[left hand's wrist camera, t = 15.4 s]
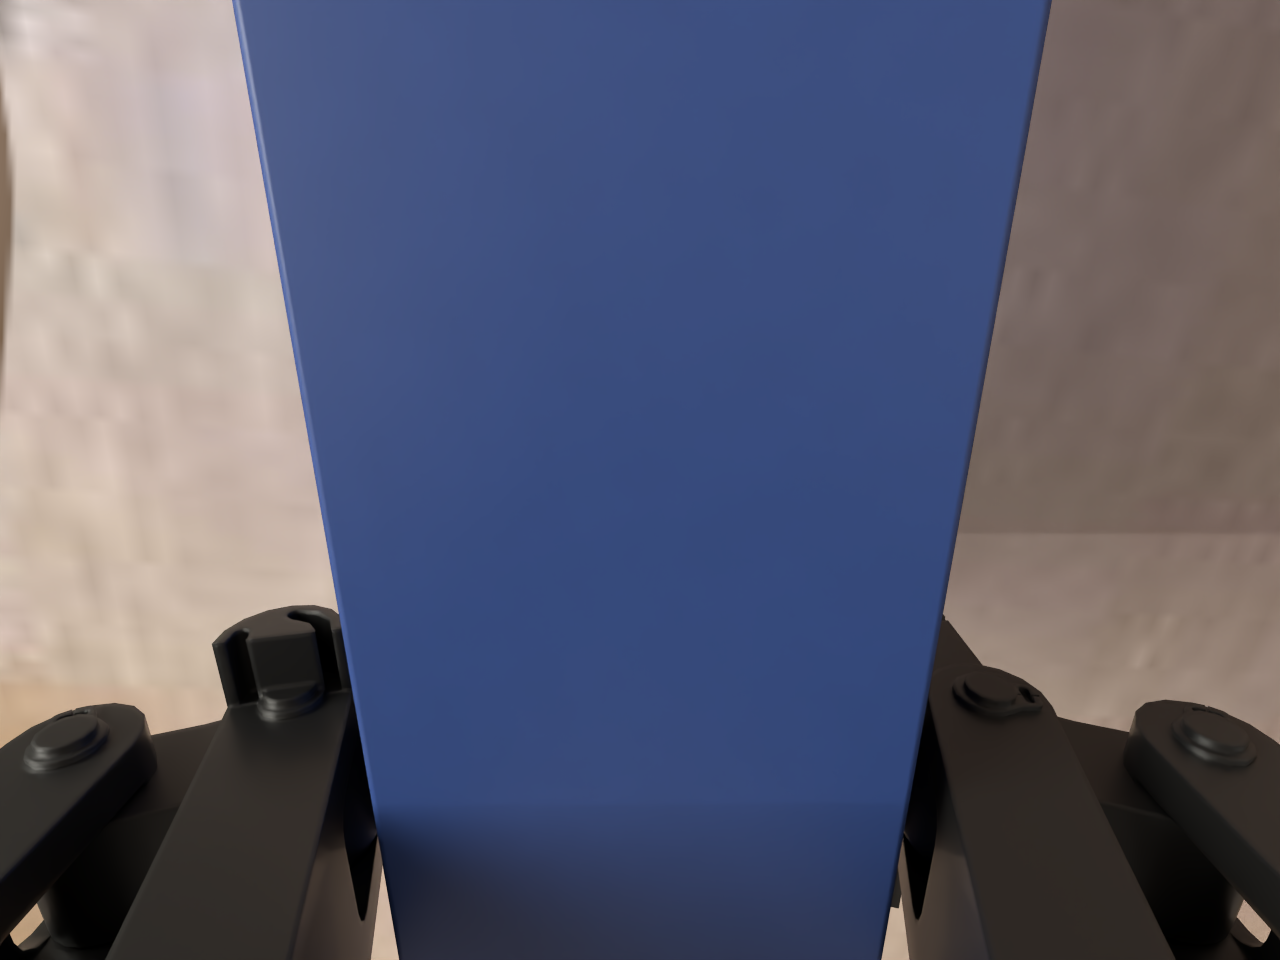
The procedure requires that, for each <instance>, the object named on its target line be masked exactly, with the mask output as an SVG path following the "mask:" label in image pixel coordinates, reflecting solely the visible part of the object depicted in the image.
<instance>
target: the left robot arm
mask: <svg viewBox="0 0 1280 960" xmlns="http://www.w3.org/2000/svg"><path fill="white" fill-rule="evenodd" d="M212 647H213V650H214V654H215V658H216V662H217V666H218V670H219V674H220V678H221V682H222V686H223V690H224V694H225V698H226V702H227V706H228V708H227V710H226V712H225V714H224V716H223V718H222V720H220V721H216V722H212V723H209V724H205V725H200V726H195V727H190V728H185V729H180V730H175V731H170V732H165V733H161V734H156V735H151V734H150V731H149V728H148V724H147V721H146V718H145V715H144V714H143V713H142V712H141V711H140V710H138V709H137V708H136V707H135V706H130V705H124V704H118V703H111V704H102V705H93V706H86V707H81V708H77V709H76V710H73V711H72V710H70V711H67V712H64V713H61V714H58V715H56V716H54V717H53V718H51V719H49V720H47V721H44V722H42V723H40V724H38V725H36V726H33V727H31V728H30V729H28V730H27V731H25V732H24V733H22V734H21V735H19V736H18V737H16V738H15V739H13V740H12V741H10V742H9V743H7V744H6V745H4V746H3V747H2V748H1V749H0V960H371V953H372V945H373V937H374V929H375V921H376V913H377V905H378V897H379V889H380V881H381V873H382V865H383V863H382V858H381V852H380V846H379V840H378V835H377V829H376V823H375V817H374V812H373V806H372V800H371V794H370V789H369V783H368V777H367V771H366V766H365V760H364V754H363V749H362V743H361V737H360V731H359V726H358V720H357V714H356V708H355V703H354V697H353V691H352V685H351V680H350V674H349V668H348V662H347V657H346V651H345V645H344V639H343V634H342V628H341V622H340V616H339V614H337V613H336V612H335V611H333V610H332V609H329V608H324V607H320V606H315V605H302V606H288V607H283V608H278V609H273V610H268V611H265V612H262V613H260V614H257V615H254V616H251V617H249V618H246V619H244V620H242V621H240V622H239V623H237V624H235V625H233V626H232V627H230V628H228V629H227V630H225V631H224V632H223V633H222V634H221V635H220V636H219V637H218V638H217V639H216V640H215V641H214V642H213V643H212ZM901 895H902V903H903V911H904V919H905V927H906V935H907V943H908V951H909V959H910V960H1280V745H1279V744H1278V743H1277V742H1276V741H1274V740H1273V739H1271V738H1270V737H1268V736H1267V735H1265V734H1264V733H1262V732H1261V731H1259V730H1258V729H1256V728H1255V727H1253V726H1252V725H1250V724H1248V723H1246V722H1244V721H1241V720H1239V719H1237V718H1235V717H1233V716H1230V715H1228V714H1227V713H1226V712H1223V711H1221V710H1218V709H1215V708H1212V707H1209V706H1208V707H1205V705H1201V704H1196V703H1191V702H1181V701H1172V700H1161V701H1154V702H1148V703H1145V704H1144V705H1143V706H1142V707H1140V708H1139V709H1138V710H1137V711H1136V712H1135V716H1134V719H1133V722H1132V725H1131V729H1130V732H1125V731H1120V730H1115V729H1110V728H1105V727H1100V726H1096V725H1091V724H1086V723H1081V722H1076V721H1072V720H1068V719H1064V718H1060V717H1057V715H1056V713H1055V711H1054V709H1053V707H1052V705H1051V704H1050V703H1049V702H1048V700H1047V699H1046V698H1045V697H1044V695H1043V694H1042V693H1041V692H1040V691H1039V690H1037V689H1036V688H1034V687H1033V686H1032V685H1030V684H1029V683H1027V682H1026V681H1024V680H1023V679H1021V678H1019V677H1016V676H1014V675H1012V674H1009V673H1007V672H1005V671H1002V670H1000V669H996V668H992V667H987V666H983V665H982V664H981V663H980V661H979V660H978V659H977V657H976V656H975V655H974V654H973V652H972V651H971V650H970V648H969V647H968V646H967V644H966V643H965V642H964V641H963V639H962V638H961V637H960V635H959V634H958V633H957V632H956V630H955V629H954V628H953V626H952V625H951V624H950V623H949V621H945V616H944V615H942V621H941V626H940V632H939V638H938V643H937V649H936V655H935V660H934V666H933V671H932V677H931V683H930V688H929V694H928V700H927V705H926V711H925V716H924V722H923V728H922V733H921V739H920V745H919V750H918V756H917V761H916V767H915V773H914V778H913V784H912V790H911V795H910V801H909V806H908V812H907V818H906V823H905V829H904V835H903V840H902V846H901V851H900V857H899V863H898V868H897V874H896V880H895V885H894V891H893V896H892V902H891V907H895V908H899V903H900V898H901ZM1243 900H1245V901H1246V902H1247V903H1248V904H1249V905H1250V906H1251V907H1252V909H1253V910H1254V911H1255V912H1256V913H1257V914H1258V915H1259V916H1260V917H1261V919H1262V920H1263V921H1264V922H1265V923H1266V924H1267V925H1268V926H1269V927H1270V929H1271V932H1270V934H1269V936H1268V938H1267V940H1266V941H1265V942H1264V943H1262V942H1260V941H1259V940H1258V939H1257V938H1256V937H1255V936H1254V935H1253V934H1251V933H1250V932H1249V931H1248V930H1247V928H1246V927H1245V926H1244V925H1243V924H1242V923H1241V921H1240V920H1239V919H1238V918H1237V915H1238V912H1239V910H1240V907H1241V905H1242V903H1243ZM36 903H37V904H38V907H39V909H40V912H41V914H42V916H43V919H44V920H43V922H42V923H41V924H40V925H39V926H38V927H37V929H36V930H35V931H34V932H33V933H32V934H31V935H30V936H29V937H28V938H27V939H25V940H24V941H23V942H22V943H21V944H20V945H18V946H17V945H15V944H14V942H13V940H12V938H11V936H10V932H11V931H12V930H13V929H14V928H15V927H16V926H17V925H18V923H19V922H20V921H21V920H22V919H23V918H24V917H25V916H26V914H27V913H28V912H29V911H30V910H31V909H32V908H33V907H34V905H35V904H36Z"/></svg>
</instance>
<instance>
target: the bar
mask: <svg viewBox="0 0 1280 960" xmlns="http://www.w3.org/2000/svg"><path fill="white" fill-rule="evenodd" d="M232 2H233V8H234V14H235V19H236V25H237V31H238V36H239V42H240V48H241V54H242V59H243V65H244V71H245V77H246V82H247V88H248V94H249V100H250V105H251V111H252V117H253V123H254V128H255V134H256V140H257V146H258V151H259V157H260V163H261V169H262V174H263V180H264V186H265V192H266V197H267V203H268V209H269V214H270V220H271V226H272V232H273V237H274V243H275V249H276V255H277V260H278V266H279V272H280V278H281V283H282V289H283V295H284V301H285V306H286V312H287V318H288V324H289V329H290V335H291V341H292V347H293V352H294V358H295V364H296V370H297V375H298V381H299V387H300V392H301V398H302V404H303V410H304V415H305V421H306V427H307V433H308V438H309V444H310V450H311V456H312V461H313V467H314V473H315V479H316V484H317V490H318V496H319V502H320V507H321V513H322V519H323V525H324V530H325V536H326V542H327V548H328V553H329V559H330V565H331V571H332V576H333V582H334V588H335V593H336V599H337V605H338V611H339V616H340V622H341V628H342V634H343V639H344V645H345V651H346V657H347V662H348V668H349V674H350V680H351V685H352V691H353V697H354V703H355V708H356V714H357V720H358V726H359V731H360V737H361V743H362V749H363V754H364V760H365V766H366V771H367V777H368V783H369V789H370V794H371V800H372V806H373V812H374V817H375V823H376V829H377V835H378V840H379V846H380V852H381V858H382V863H383V869H384V875H385V881H386V886H387V892H388V898H389V904H390V909H391V915H392V921H393V927H394V932H395V938H396V944H397V949H398V955H399V960H881V958H882V953H883V947H884V941H885V936H886V930H887V925H888V919H889V913H890V908H891V902H892V896H893V891H894V885H895V880H896V874H897V868H898V863H899V857H900V851H901V846H902V840H903V835H904V829H905V823H906V818H907V812H908V806H909V801H910V795H911V790H912V784H913V778H914V773H915V767H916V761H917V756H918V750H919V745H920V739H921V733H922V728H923V722H924V716H925V711H926V705H927V700H928V694H929V688H930V683H931V677H932V671H933V666H934V660H935V655H936V649H937V643H938V638H939V632H940V626H941V621H942V615H943V610H944V604H945V598H946V593H947V587H948V581H949V576H950V570H951V565H952V559H953V553H954V548H955V542H956V536H957V531H958V525H959V520H960V514H961V508H962V503H963V497H964V491H965V486H966V480H967V475H968V469H969V463H970V458H971V452H972V446H973V441H974V435H975V430H976V424H977V418H978V413H979V407H980V401H981V396H982V390H983V385H984V379H985V373H986V368H987V362H988V356H989V351H990V345H991V340H992V334H993V328H994V323H995V317H996V311H997V306H998V300H999V295H1000V289H1001V283H1002V278H1003V272H1004V266H1005V261H1006V255H1007V250H1008V244H1009V238H1010V233H1011V227H1012V221H1013V216H1014V210H1015V205H1016V199H1017V193H1018V188H1019V182H1020V177H1021V171H1022V165H1023V160H1024V154H1025V148H1026V143H1027V137H1028V132H1029V126H1030V120H1031V115H1032V109H1033V103H1034V98H1035V92H1036V87H1037V81H1038V75H1039V70H1040V64H1041V58H1042V53H1043V47H1044V42H1045V36H1046V30H1047V25H1048V19H1049V13H1050V8H1051V2H1052V0H232Z"/></svg>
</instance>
